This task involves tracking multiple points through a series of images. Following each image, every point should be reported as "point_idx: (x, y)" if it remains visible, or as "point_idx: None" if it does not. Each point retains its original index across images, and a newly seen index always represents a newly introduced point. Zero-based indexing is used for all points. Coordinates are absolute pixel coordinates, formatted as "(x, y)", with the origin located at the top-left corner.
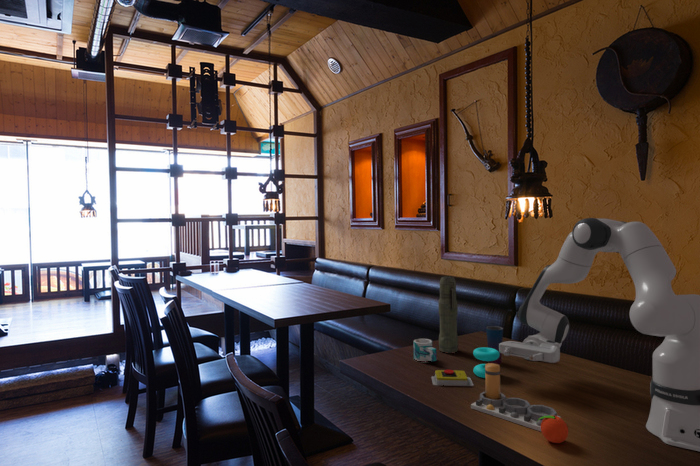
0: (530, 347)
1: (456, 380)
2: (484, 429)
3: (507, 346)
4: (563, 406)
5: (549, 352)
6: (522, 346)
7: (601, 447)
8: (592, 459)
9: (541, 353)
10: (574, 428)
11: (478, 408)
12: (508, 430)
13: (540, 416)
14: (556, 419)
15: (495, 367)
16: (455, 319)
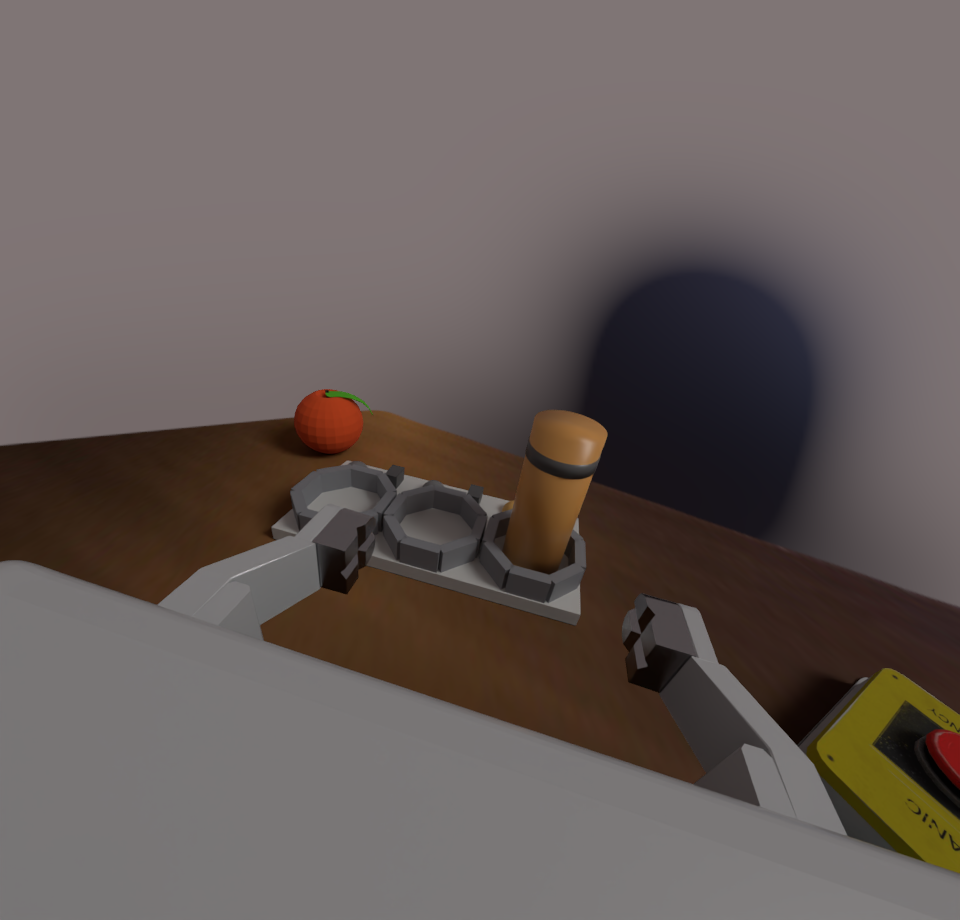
0: (331, 829)
1: (834, 718)
2: (489, 456)
3: (847, 837)
4: None
5: (32, 563)
6: (544, 851)
7: (213, 451)
8: (266, 421)
9: (183, 599)
10: (243, 507)
11: None
12: (439, 462)
13: (355, 466)
14: (324, 389)
15: (544, 411)
16: None
